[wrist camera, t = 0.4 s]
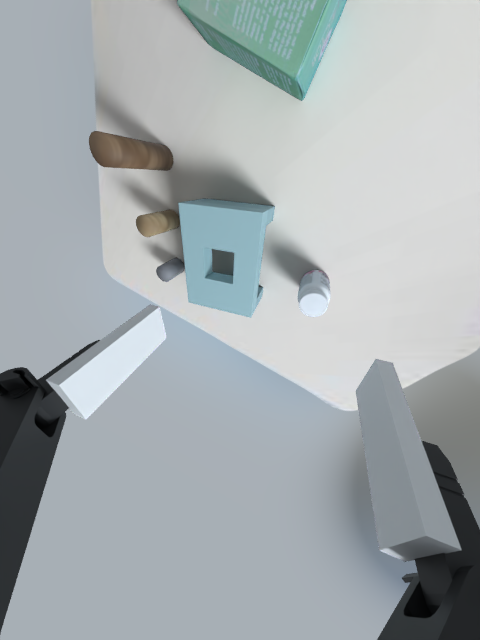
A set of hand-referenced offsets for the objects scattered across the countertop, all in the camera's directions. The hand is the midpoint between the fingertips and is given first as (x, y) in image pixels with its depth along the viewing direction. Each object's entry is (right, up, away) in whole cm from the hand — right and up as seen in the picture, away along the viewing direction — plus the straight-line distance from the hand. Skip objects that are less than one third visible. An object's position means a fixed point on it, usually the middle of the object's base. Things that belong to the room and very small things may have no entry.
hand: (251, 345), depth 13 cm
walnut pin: (-13, +28, +20) cm, 37 cm away
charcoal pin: (-14, +13, +31) cm, 36 cm away
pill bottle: (+13, +8, +23) cm, 28 cm away
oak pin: (-13, +21, +25) cm, 35 cm away
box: (+3, +34, +10) cm, 35 cm away
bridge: (-1, +14, +25) cm, 29 cm away
